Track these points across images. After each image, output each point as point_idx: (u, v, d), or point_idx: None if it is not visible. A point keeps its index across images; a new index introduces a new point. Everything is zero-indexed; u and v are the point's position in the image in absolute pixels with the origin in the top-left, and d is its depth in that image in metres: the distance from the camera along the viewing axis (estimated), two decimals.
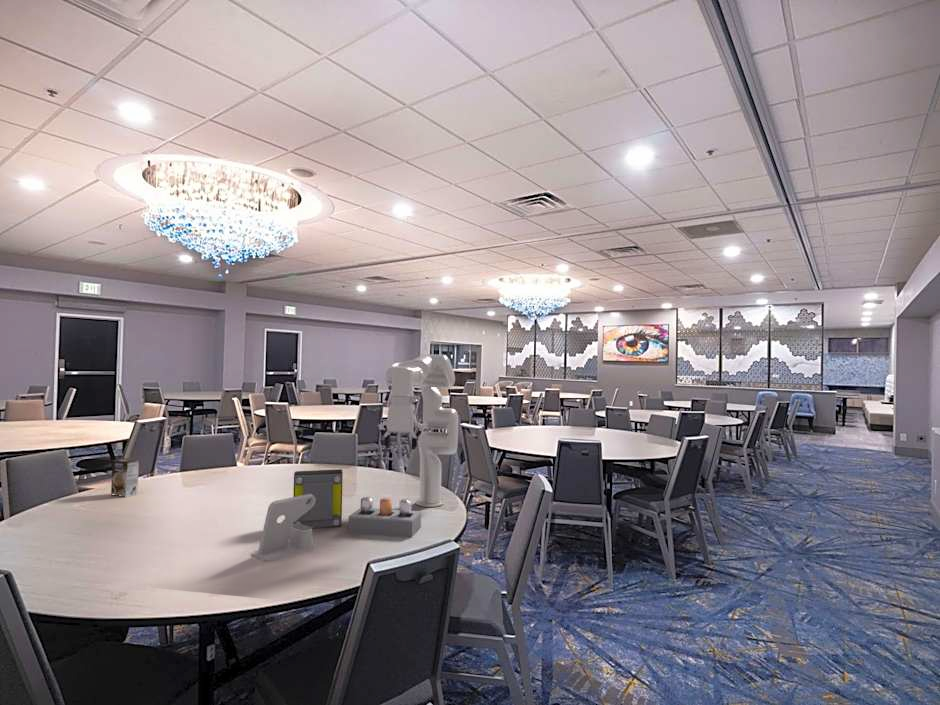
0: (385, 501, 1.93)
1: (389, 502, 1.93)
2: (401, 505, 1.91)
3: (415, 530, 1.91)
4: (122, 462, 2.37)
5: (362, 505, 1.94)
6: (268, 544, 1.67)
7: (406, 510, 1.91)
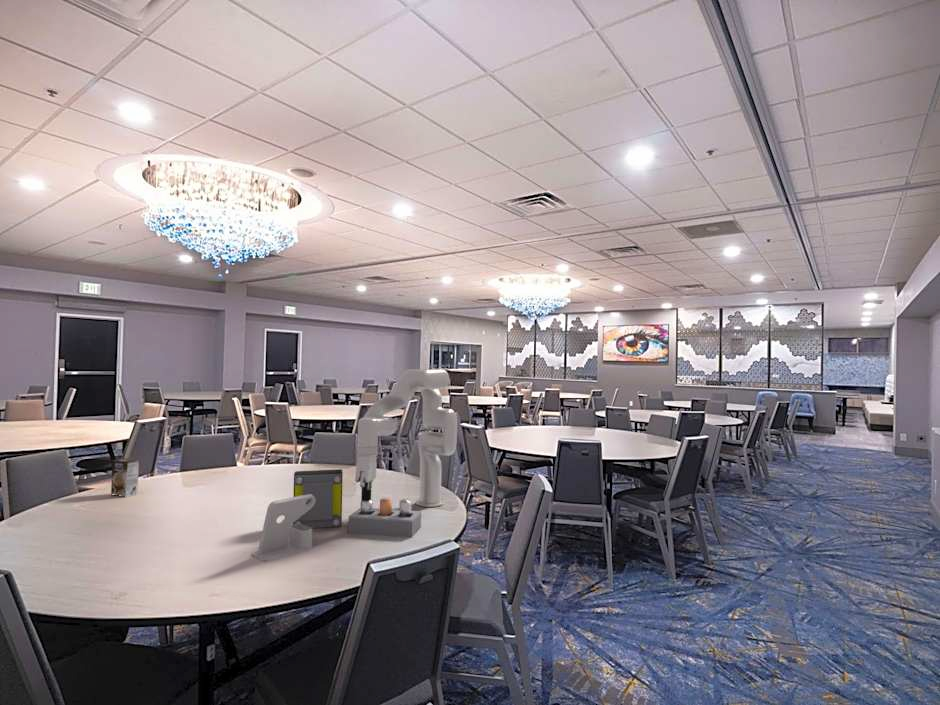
0: (385, 501, 1.93)
1: (389, 502, 1.93)
2: (401, 505, 1.91)
3: (415, 530, 1.91)
4: (122, 462, 2.37)
5: (362, 507, 1.94)
6: (268, 544, 1.67)
7: (406, 510, 1.91)
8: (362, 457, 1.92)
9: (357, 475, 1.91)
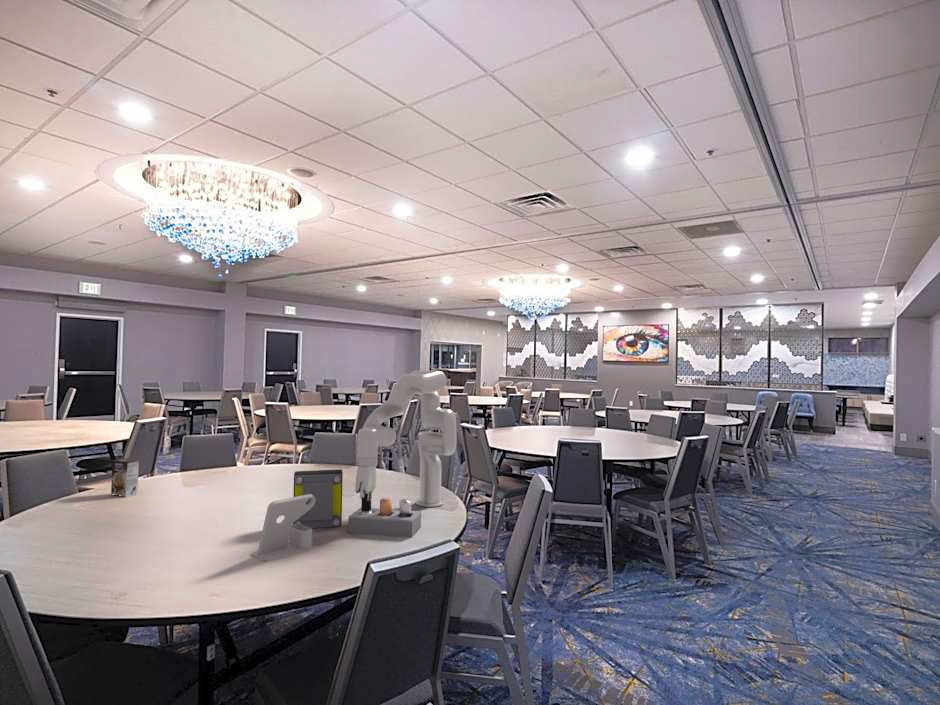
0: (385, 501, 1.93)
1: (389, 502, 1.93)
2: (401, 505, 1.91)
3: (415, 530, 1.91)
4: (122, 462, 2.37)
5: None
6: (267, 544, 1.67)
7: (406, 510, 1.91)
8: (361, 468, 1.92)
9: (357, 486, 1.91)
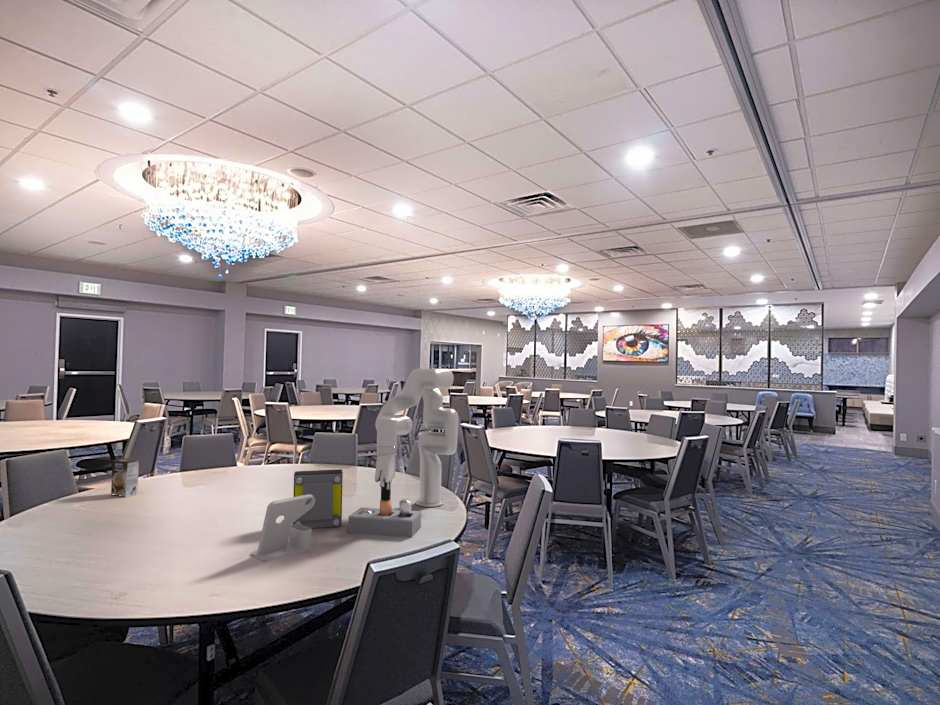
0: (385, 502, 1.92)
1: (389, 503, 1.93)
2: (401, 505, 1.91)
3: (415, 530, 1.91)
4: (122, 462, 2.37)
5: None
6: (267, 544, 1.67)
7: (406, 510, 1.91)
8: (381, 457, 1.90)
9: (377, 475, 1.90)
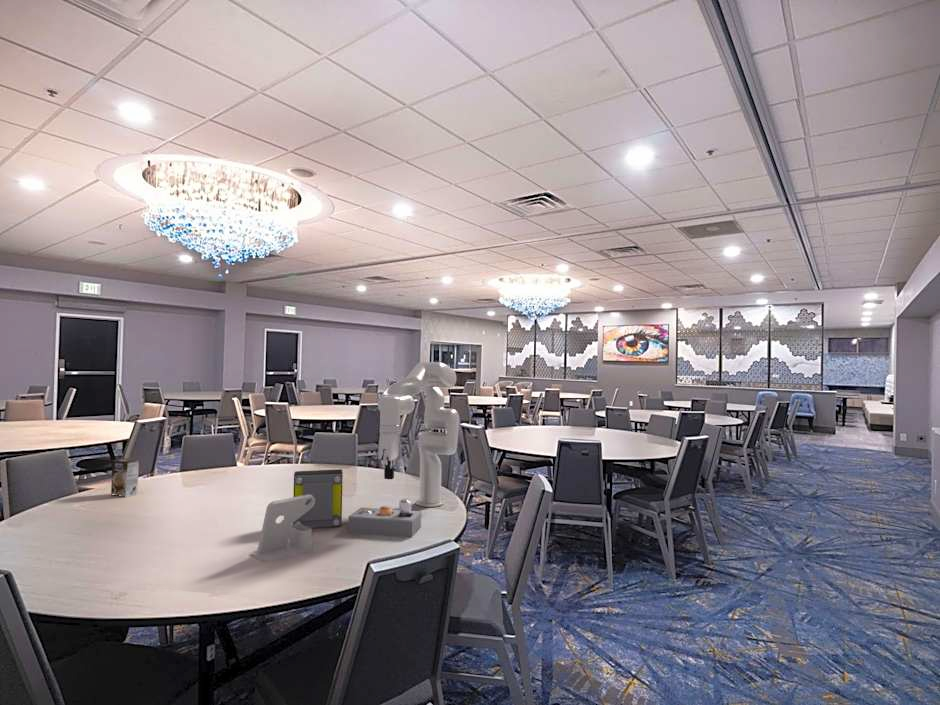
0: (385, 509, 1.92)
1: (389, 510, 1.93)
2: (401, 505, 1.91)
3: (415, 530, 1.91)
4: (122, 462, 2.37)
5: None
6: (267, 544, 1.67)
7: (406, 510, 1.91)
8: (384, 436, 1.91)
9: (380, 453, 1.90)
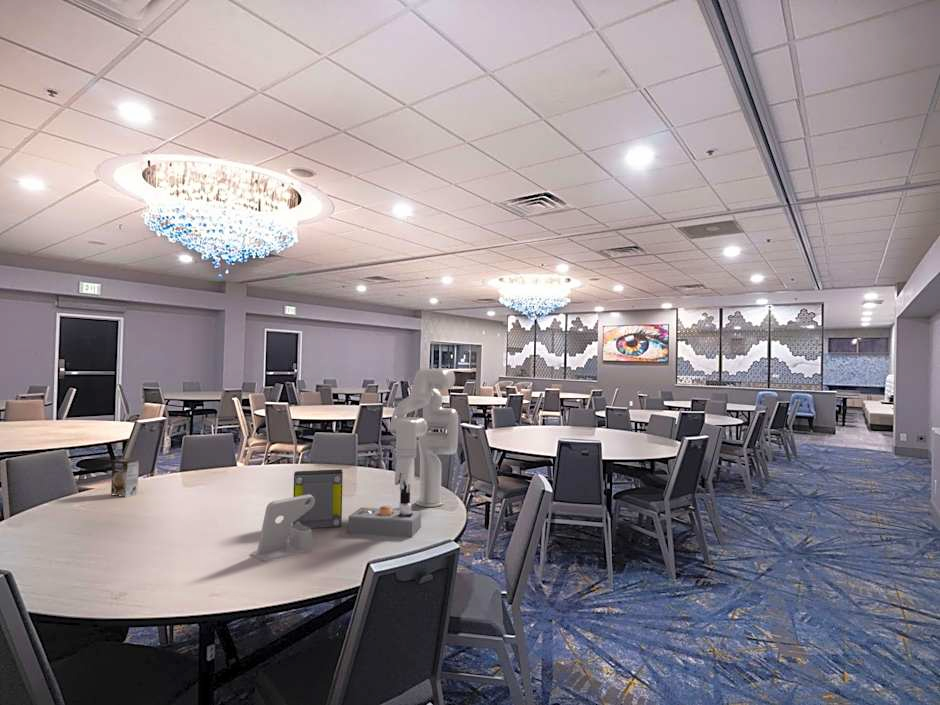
0: (385, 509, 1.92)
1: (389, 510, 1.93)
2: (401, 507, 1.91)
3: (415, 530, 1.91)
4: (122, 462, 2.37)
5: None
6: (267, 544, 1.66)
7: (406, 513, 1.91)
8: (401, 460, 1.89)
9: (397, 477, 1.89)
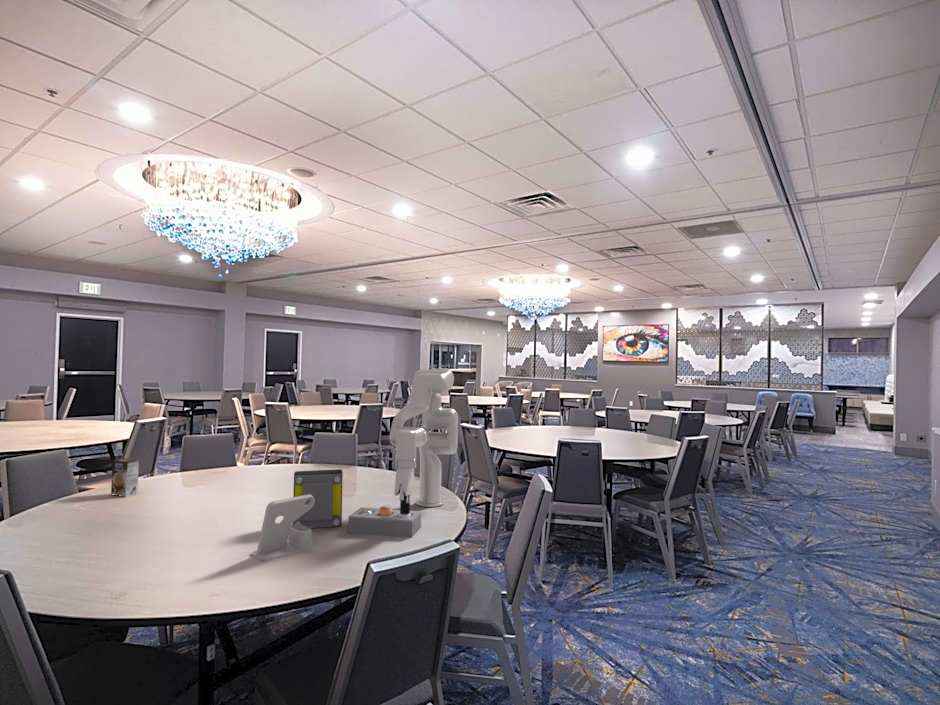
0: (385, 509, 1.92)
1: (389, 510, 1.93)
2: None
3: (415, 530, 1.91)
4: (122, 462, 2.37)
5: None
6: (267, 544, 1.66)
7: None
8: (401, 470, 1.89)
9: (396, 488, 1.89)
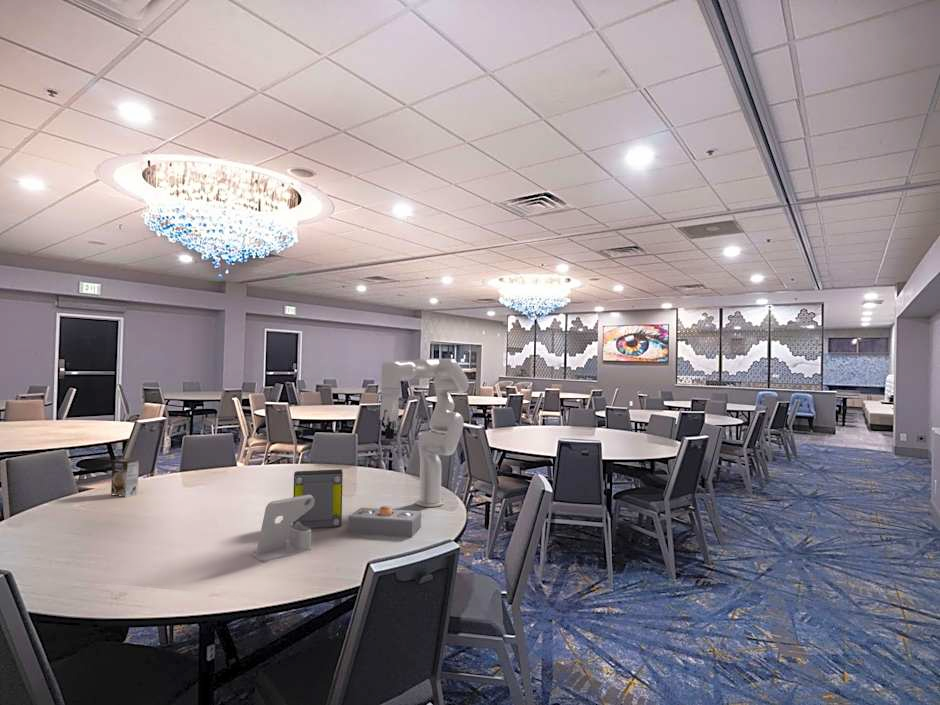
0: (385, 509, 1.92)
1: (389, 510, 1.93)
2: None
3: (415, 530, 1.91)
4: (122, 462, 2.37)
5: None
6: (266, 545, 1.66)
7: None
8: (385, 397, 2.03)
9: (381, 414, 2.03)
